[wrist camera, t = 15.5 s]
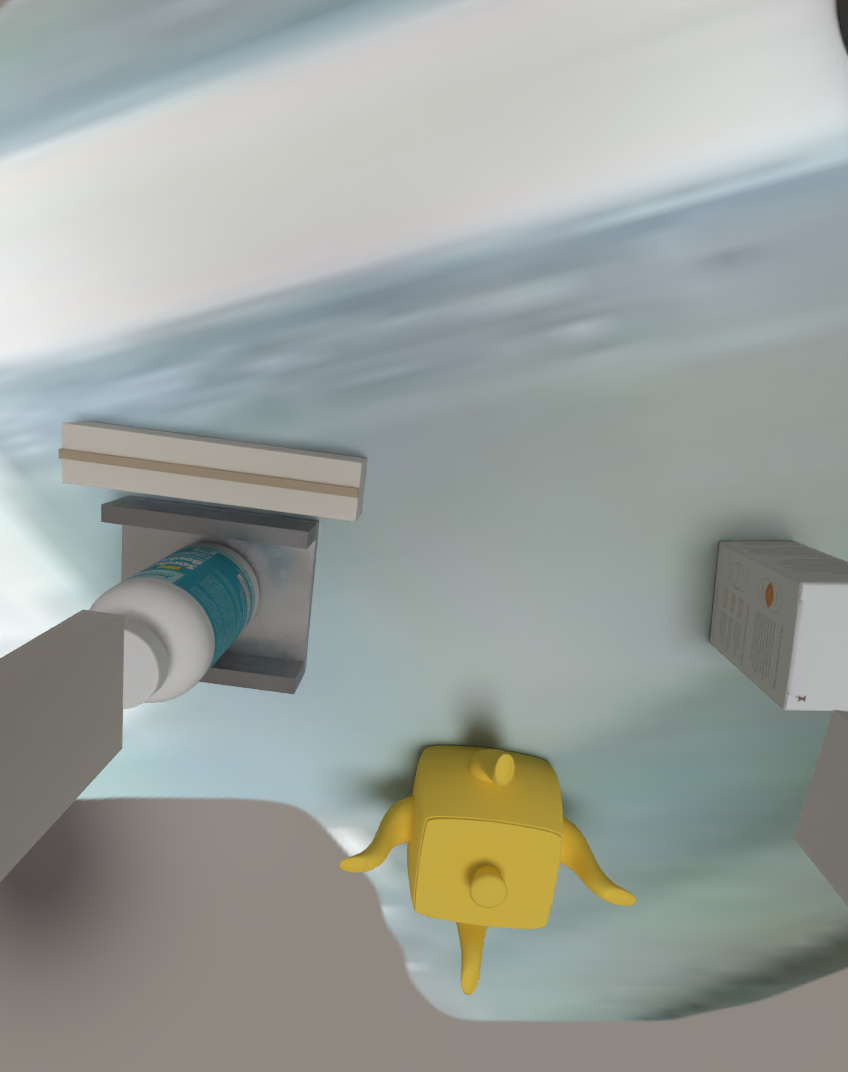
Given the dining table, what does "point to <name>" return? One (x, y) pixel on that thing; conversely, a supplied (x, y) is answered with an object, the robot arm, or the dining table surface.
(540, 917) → the teapot
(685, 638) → the dining table surface
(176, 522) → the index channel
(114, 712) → the robot arm
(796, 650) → the small box
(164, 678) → the pill bottle
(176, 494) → the door edge
